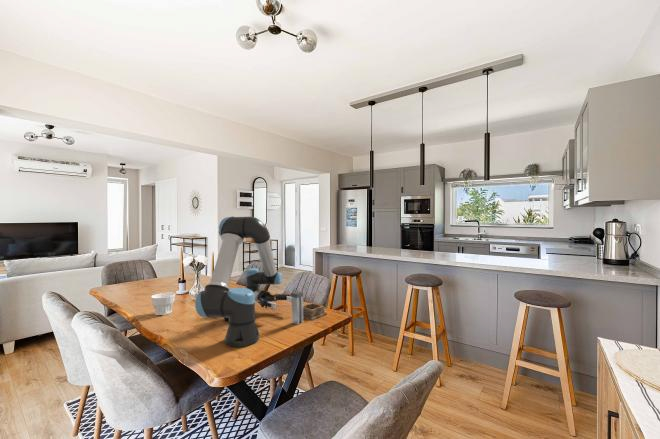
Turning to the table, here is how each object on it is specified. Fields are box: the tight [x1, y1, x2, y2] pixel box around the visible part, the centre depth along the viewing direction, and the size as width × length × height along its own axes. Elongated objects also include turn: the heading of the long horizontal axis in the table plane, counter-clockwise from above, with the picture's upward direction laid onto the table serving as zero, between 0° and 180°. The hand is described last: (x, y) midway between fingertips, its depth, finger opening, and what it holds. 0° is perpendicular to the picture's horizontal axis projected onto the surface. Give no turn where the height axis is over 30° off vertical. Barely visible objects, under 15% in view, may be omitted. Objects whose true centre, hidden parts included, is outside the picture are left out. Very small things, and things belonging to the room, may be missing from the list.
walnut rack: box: [303, 302, 328, 321], centre depth 167 cm, size 12×12×5 cm
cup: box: [150, 291, 176, 315], centre depth 174 cm, size 12×12×11 cm
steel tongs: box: [291, 290, 304, 325], centre depth 157 cm, size 4×6×16 cm
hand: (285, 303), depth 163 cm, fingers open, 13 cm apart
